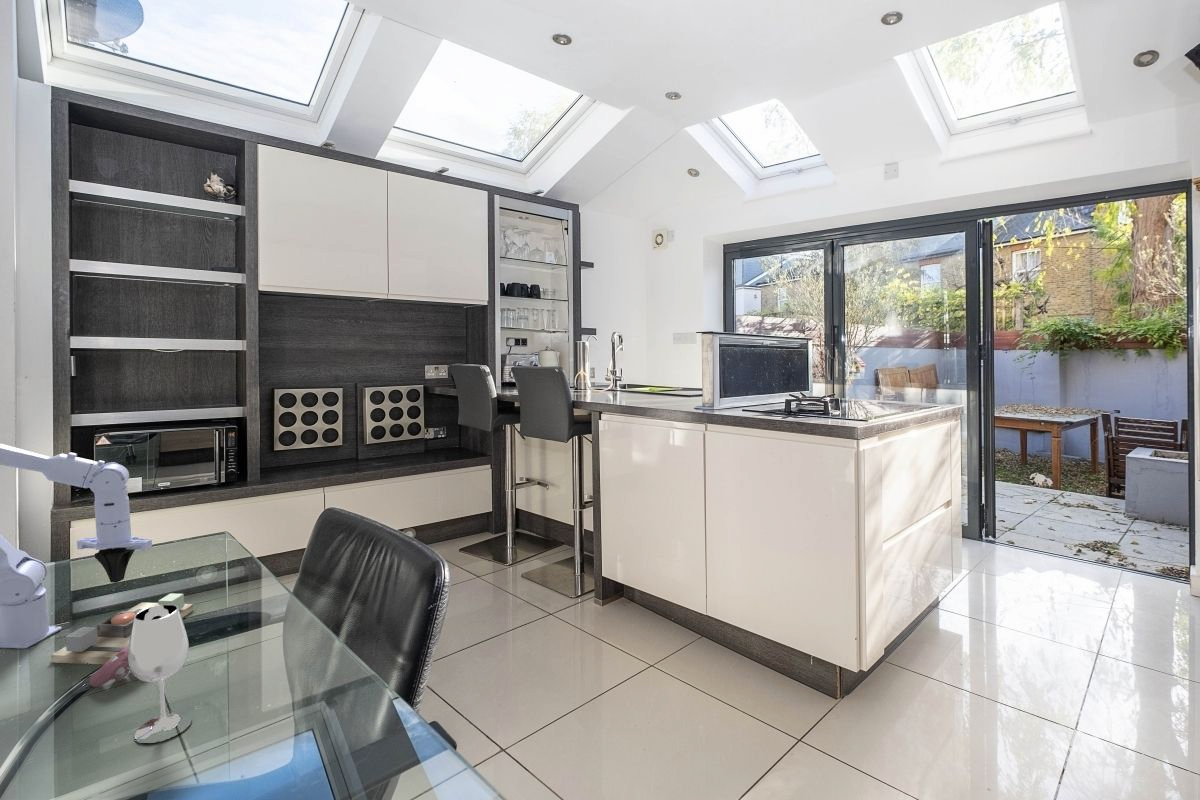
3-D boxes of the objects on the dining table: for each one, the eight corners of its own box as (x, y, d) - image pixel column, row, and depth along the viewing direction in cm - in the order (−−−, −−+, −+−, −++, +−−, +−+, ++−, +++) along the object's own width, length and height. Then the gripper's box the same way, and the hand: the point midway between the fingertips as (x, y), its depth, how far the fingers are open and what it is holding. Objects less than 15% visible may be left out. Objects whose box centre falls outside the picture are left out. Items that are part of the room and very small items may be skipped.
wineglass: (154, 713, 98) (147, 601, 96) (203, 712, 99) (197, 600, 97) (120, 746, 91) (112, 624, 88) (174, 744, 91) (166, 624, 89)
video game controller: (104, 698, 104) (116, 668, 103) (84, 685, 105) (96, 654, 104) (155, 668, 114) (167, 639, 113) (137, 655, 114) (148, 627, 113)
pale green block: (158, 613, 128) (158, 600, 128) (171, 606, 131) (170, 593, 131) (172, 614, 128) (171, 601, 128) (184, 606, 131) (183, 593, 131)
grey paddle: (66, 651, 113) (65, 636, 112) (83, 641, 116) (82, 627, 116) (81, 651, 113) (80, 637, 112) (98, 641, 116) (97, 627, 116)
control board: (51, 662, 112) (49, 642, 112) (142, 608, 134) (140, 592, 134) (112, 664, 112) (111, 645, 112) (193, 610, 134) (192, 593, 133)
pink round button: (106, 633, 120) (105, 621, 120) (122, 623, 124) (121, 612, 124) (125, 633, 120) (125, 622, 120) (141, 624, 124) (140, 612, 123)
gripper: (62, 525, 121) (67, 587, 123) (132, 527, 122) (136, 589, 123) (91, 515, 128) (95, 574, 130) (157, 516, 129) (161, 575, 130)
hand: (117, 580), depth 127 cm, fingers closed
